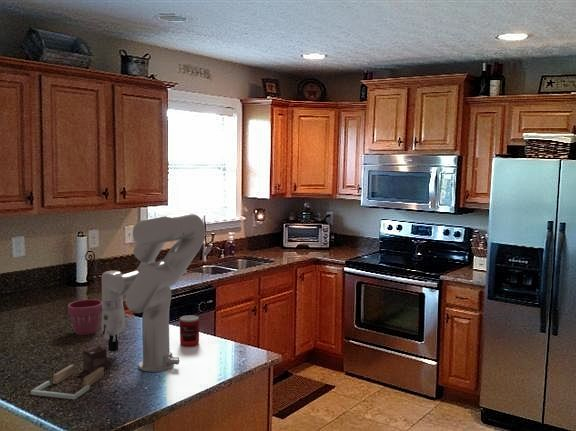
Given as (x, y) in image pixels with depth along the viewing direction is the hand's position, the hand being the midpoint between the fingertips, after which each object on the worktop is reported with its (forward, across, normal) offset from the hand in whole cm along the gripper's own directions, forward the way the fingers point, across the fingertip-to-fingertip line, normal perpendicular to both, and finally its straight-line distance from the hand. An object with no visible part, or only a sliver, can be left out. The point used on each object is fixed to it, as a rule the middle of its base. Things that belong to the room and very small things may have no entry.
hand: (113, 350), depth 218 cm
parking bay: (+2, -33, 0) cm, 33 cm away
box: (+3, -13, 0) cm, 13 cm away
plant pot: (+3, +25, +28) cm, 37 cm away
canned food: (+2, +21, -22) cm, 31 cm away
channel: (+2, -23, 0) cm, 23 cm away
